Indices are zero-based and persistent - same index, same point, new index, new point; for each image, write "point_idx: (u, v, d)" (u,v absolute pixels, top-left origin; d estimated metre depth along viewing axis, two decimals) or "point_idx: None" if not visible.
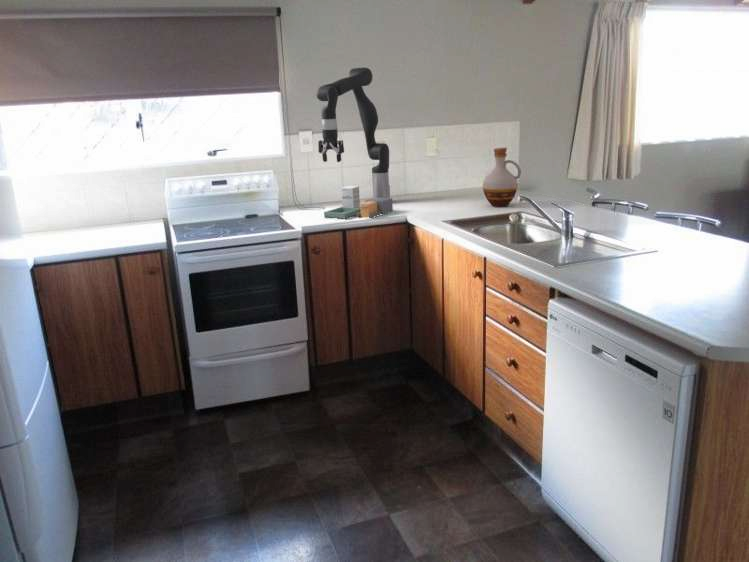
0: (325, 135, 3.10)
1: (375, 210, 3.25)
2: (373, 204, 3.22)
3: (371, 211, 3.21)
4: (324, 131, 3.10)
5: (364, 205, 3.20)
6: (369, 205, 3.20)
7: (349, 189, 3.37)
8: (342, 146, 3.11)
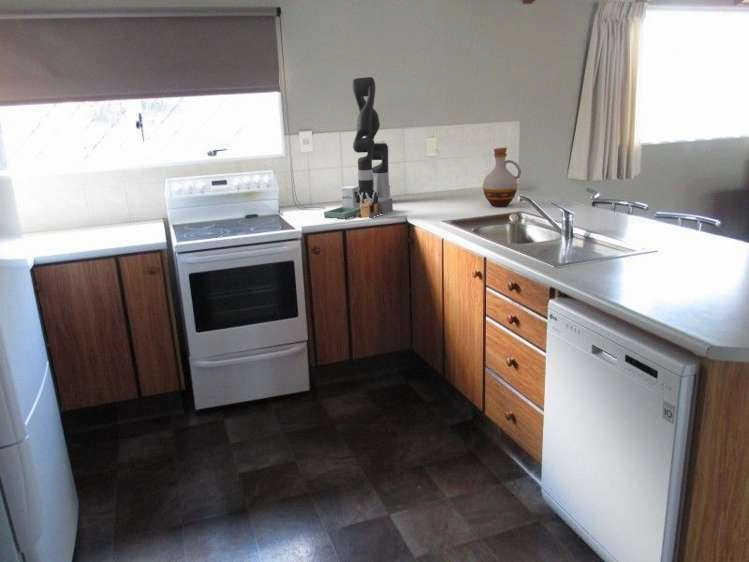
0: (361, 185, 3.16)
1: (375, 210, 3.25)
2: None
3: None
4: (360, 181, 3.16)
5: (365, 205, 3.20)
6: (369, 205, 3.19)
7: (349, 189, 3.37)
8: (377, 198, 3.18)
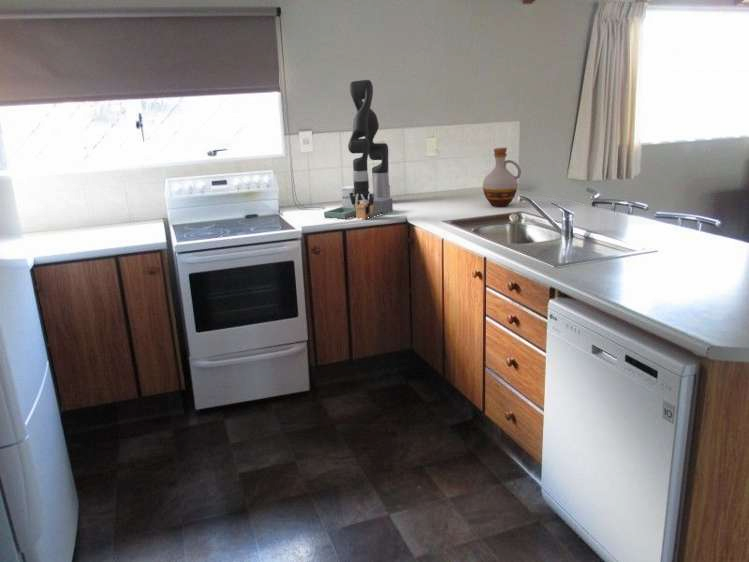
0: (357, 186, 3.13)
1: (371, 211, 3.21)
2: None
3: None
4: (356, 183, 3.12)
5: (360, 206, 3.16)
6: (365, 206, 3.16)
7: (349, 189, 3.37)
8: (372, 199, 3.14)
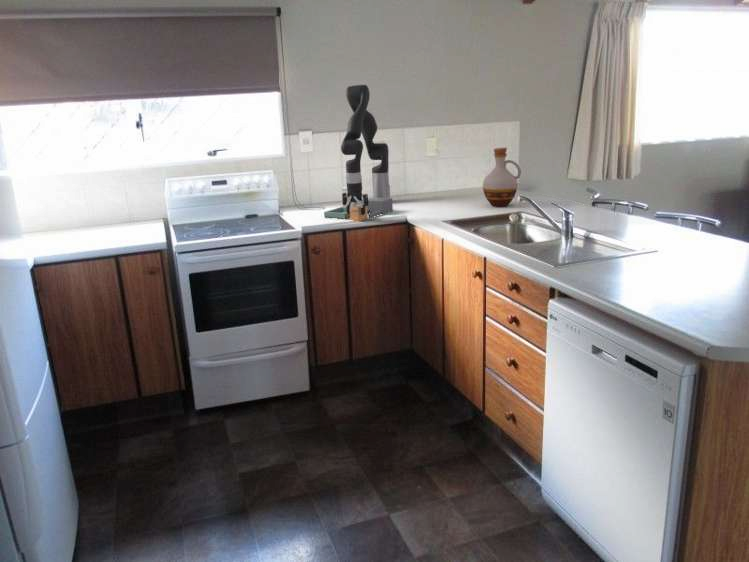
0: (350, 188, 3.08)
1: (365, 213, 3.17)
2: None
3: (360, 215, 3.14)
4: (349, 185, 3.08)
5: (354, 208, 3.12)
6: (359, 208, 3.12)
7: None
8: (367, 199, 3.09)
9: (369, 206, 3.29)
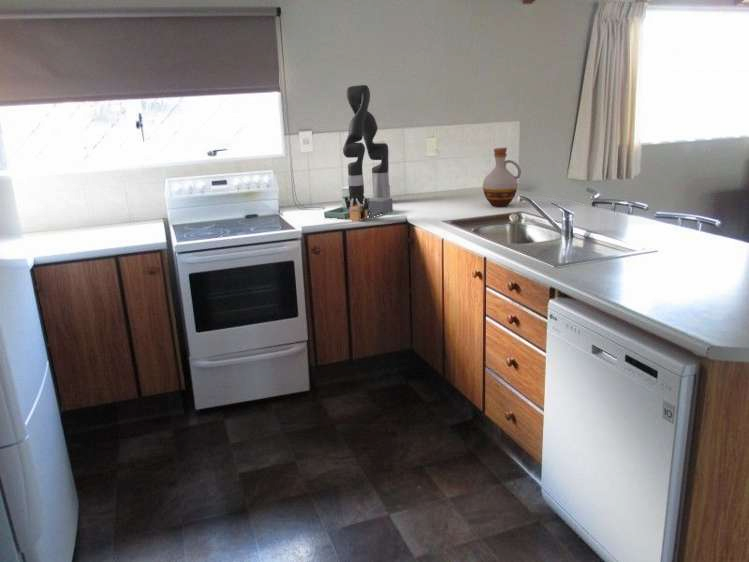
0: (352, 191, 3.10)
1: (365, 213, 3.17)
2: None
3: (360, 215, 3.14)
4: (351, 187, 3.10)
5: (354, 208, 3.12)
6: (358, 208, 3.12)
7: None
8: (367, 204, 3.12)
9: (369, 206, 3.29)
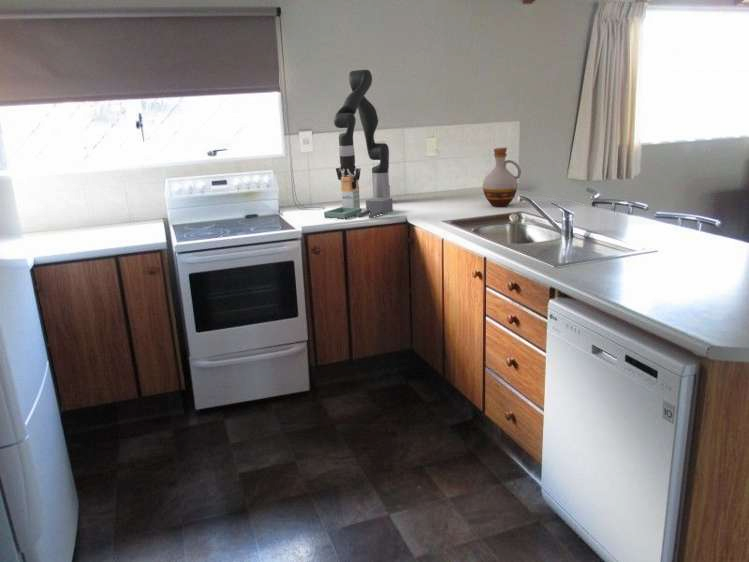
0: (343, 161, 3.13)
1: (356, 184, 3.20)
2: None
3: None
4: (342, 157, 3.12)
5: (345, 178, 3.15)
6: (350, 178, 3.15)
7: None
8: (358, 174, 3.15)
9: (369, 206, 3.29)
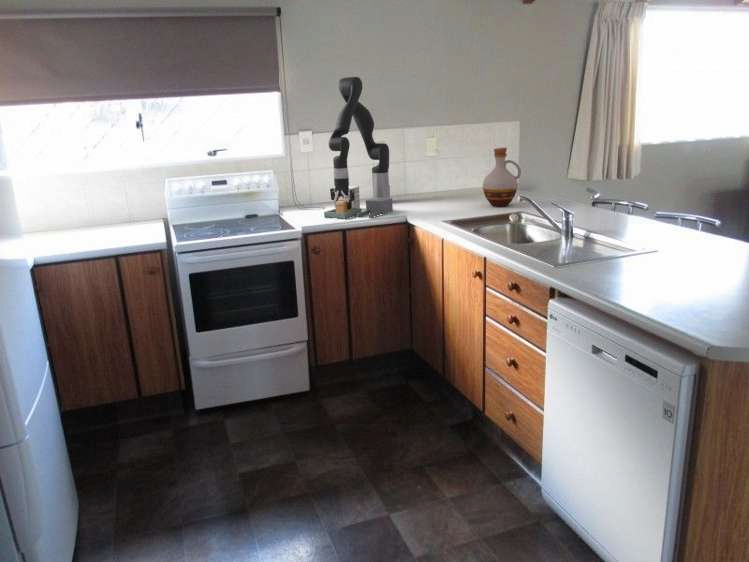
0: (337, 183, 3.21)
1: None
2: None
3: (346, 209, 3.26)
4: (336, 180, 3.21)
5: (339, 203, 3.24)
6: (344, 203, 3.24)
7: None
8: (353, 195, 3.23)
9: (369, 206, 3.29)
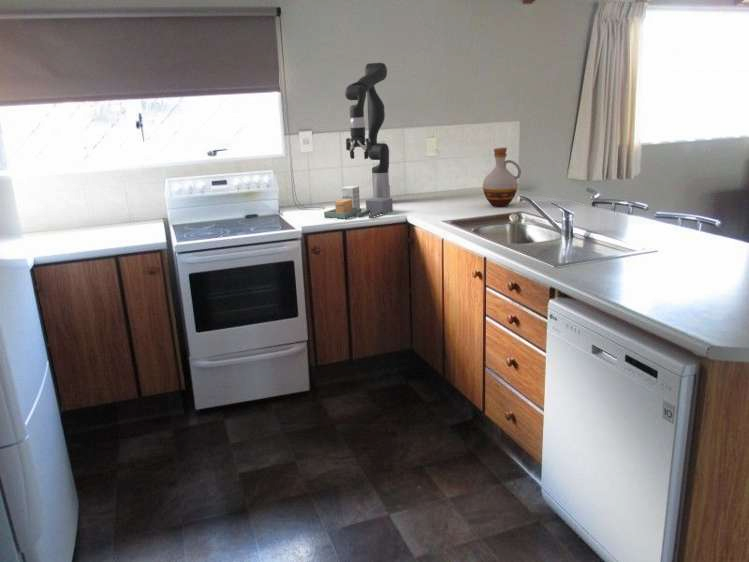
0: (353, 133, 3.20)
1: (350, 208, 3.29)
2: (348, 202, 3.27)
3: (346, 209, 3.26)
4: (352, 129, 3.20)
5: (339, 203, 3.24)
6: (344, 203, 3.24)
7: (349, 189, 3.37)
8: (370, 143, 3.21)
9: (369, 206, 3.29)
